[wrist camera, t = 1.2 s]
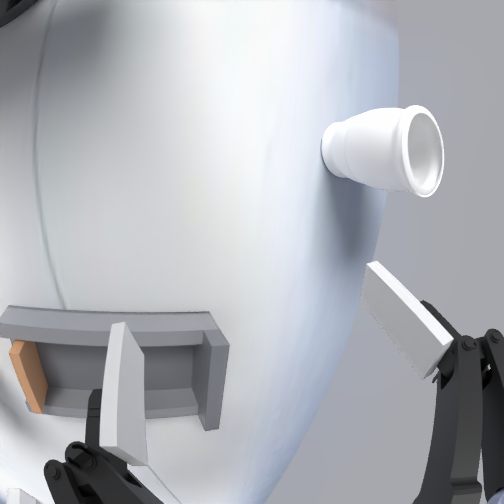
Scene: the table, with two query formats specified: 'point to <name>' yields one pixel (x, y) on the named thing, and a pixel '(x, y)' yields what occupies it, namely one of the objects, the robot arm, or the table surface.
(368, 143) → the jar
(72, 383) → the grey open tray
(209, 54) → the table surface
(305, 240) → the table surface
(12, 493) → the milk carton
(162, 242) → the table surface
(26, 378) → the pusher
